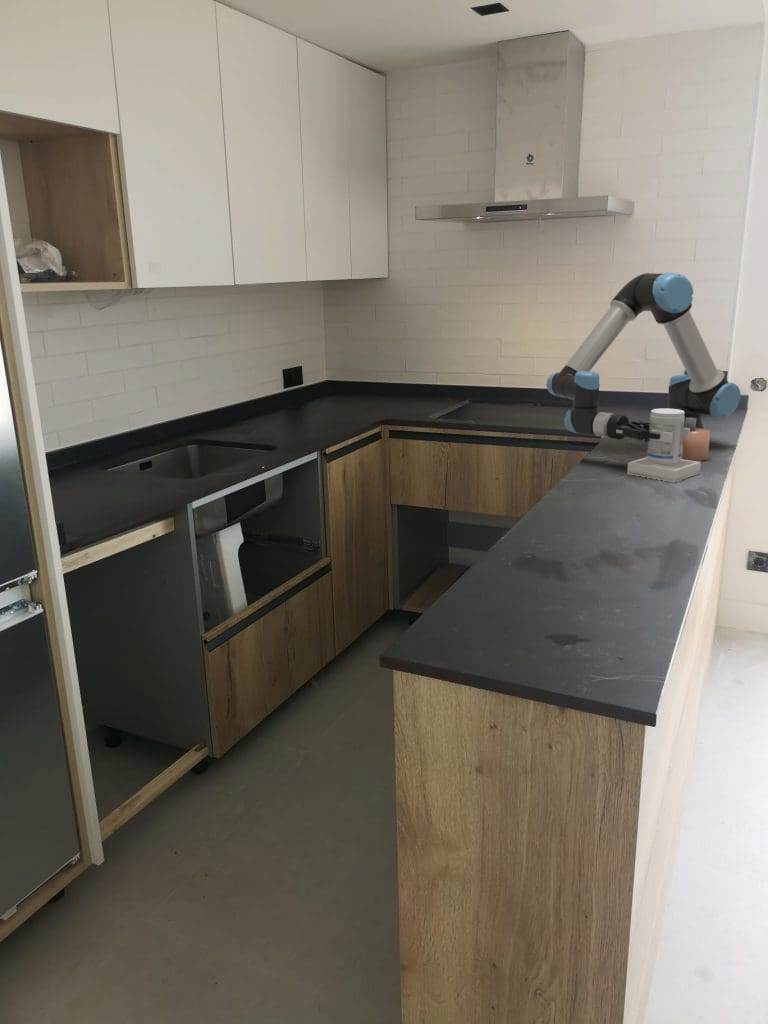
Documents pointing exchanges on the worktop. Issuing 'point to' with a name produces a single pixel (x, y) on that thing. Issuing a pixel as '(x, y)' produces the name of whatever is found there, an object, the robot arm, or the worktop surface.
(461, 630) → the worktop surface
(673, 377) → the robot arm
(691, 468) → the tray
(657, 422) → the supplement tub
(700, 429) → the peach lotion bottle
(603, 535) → the worktop surface
